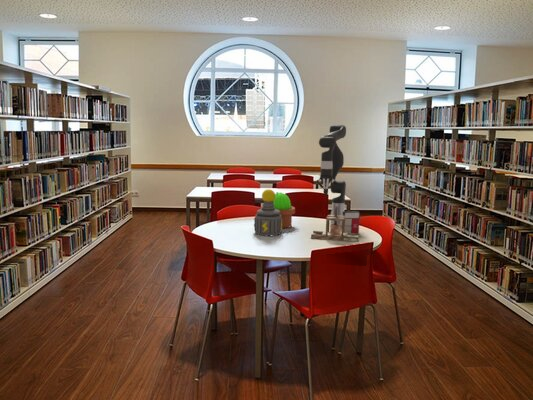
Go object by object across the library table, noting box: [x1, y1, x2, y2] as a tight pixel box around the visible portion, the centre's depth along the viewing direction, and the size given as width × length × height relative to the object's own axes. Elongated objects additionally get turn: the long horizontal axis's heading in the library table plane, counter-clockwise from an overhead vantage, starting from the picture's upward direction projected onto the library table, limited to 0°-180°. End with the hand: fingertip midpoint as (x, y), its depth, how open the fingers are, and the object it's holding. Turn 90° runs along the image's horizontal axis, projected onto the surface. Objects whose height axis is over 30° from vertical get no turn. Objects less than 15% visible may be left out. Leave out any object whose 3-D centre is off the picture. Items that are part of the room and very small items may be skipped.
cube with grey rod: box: [322, 206, 348, 236], centre depth 312 cm, size 16×9×19 cm, turn 78°
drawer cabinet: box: [310, 214, 360, 242], centre depth 313 cm, size 30×12×14 cm, turn 78°
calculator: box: [343, 210, 361, 234], centre depth 328 cm, size 11×4×15 cm, turn 101°
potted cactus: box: [273, 192, 296, 229], centre depth 348 cm, size 22×22×25 cm
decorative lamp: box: [253, 188, 283, 236], centre depth 322 cm, size 19×19×30 cm
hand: (325, 194), depth 311 cm, fingers closed
